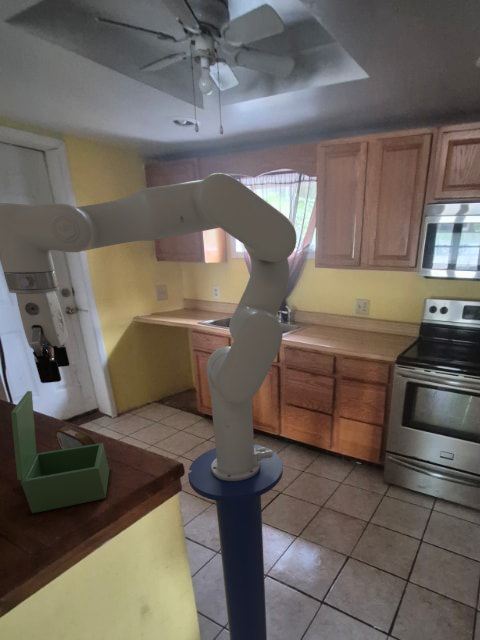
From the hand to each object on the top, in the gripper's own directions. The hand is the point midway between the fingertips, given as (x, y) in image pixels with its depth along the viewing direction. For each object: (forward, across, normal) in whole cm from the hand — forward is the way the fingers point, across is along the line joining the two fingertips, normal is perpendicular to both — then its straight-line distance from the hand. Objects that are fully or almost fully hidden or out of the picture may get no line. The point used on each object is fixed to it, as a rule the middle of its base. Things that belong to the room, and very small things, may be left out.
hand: (56, 373), depth 72 cm
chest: (+27, 0, +2) cm, 28 cm away
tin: (+28, +14, +3) cm, 31 cm away
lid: (+12, 0, +8) cm, 14 cm away
